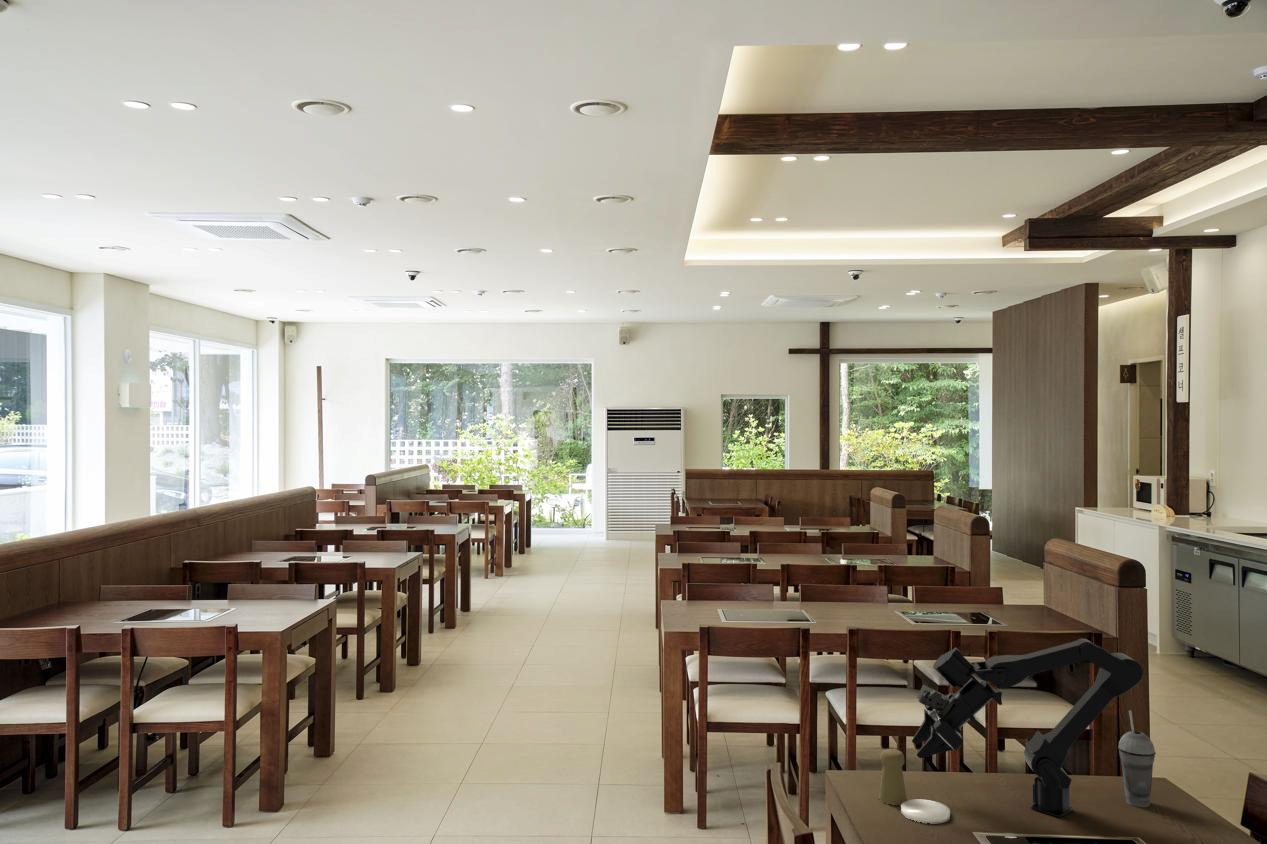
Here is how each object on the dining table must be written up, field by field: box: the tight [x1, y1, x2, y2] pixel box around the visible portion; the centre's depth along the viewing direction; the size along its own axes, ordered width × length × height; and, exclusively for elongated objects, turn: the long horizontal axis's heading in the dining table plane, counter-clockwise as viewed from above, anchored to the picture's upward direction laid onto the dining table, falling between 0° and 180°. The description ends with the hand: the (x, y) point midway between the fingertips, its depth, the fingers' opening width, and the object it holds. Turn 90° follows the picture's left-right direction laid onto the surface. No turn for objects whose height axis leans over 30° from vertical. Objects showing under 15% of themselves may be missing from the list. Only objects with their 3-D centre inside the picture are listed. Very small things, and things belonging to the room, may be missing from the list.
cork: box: [878, 748, 908, 806], centre depth 203 cm, size 6×6×11 cm
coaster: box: [900, 798, 951, 825], centre depth 195 cm, size 10×10×1 cm
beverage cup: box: [1117, 710, 1157, 808], centre depth 200 cm, size 7×7×20 cm
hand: (915, 749), depth 202 cm, fingers open, 9 cm apart
